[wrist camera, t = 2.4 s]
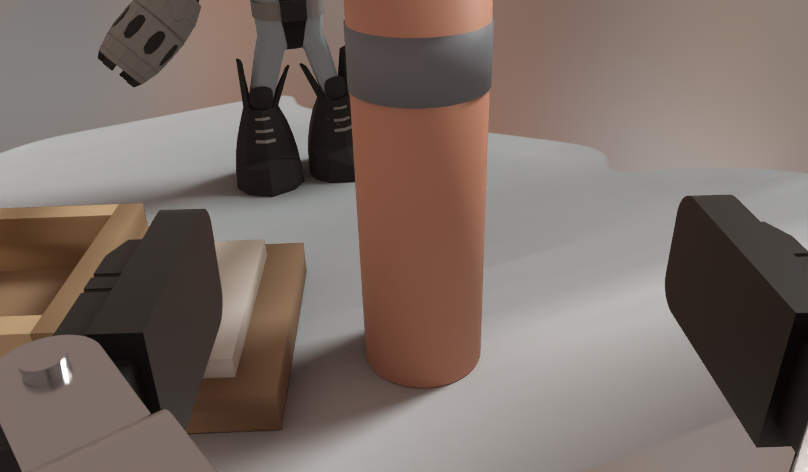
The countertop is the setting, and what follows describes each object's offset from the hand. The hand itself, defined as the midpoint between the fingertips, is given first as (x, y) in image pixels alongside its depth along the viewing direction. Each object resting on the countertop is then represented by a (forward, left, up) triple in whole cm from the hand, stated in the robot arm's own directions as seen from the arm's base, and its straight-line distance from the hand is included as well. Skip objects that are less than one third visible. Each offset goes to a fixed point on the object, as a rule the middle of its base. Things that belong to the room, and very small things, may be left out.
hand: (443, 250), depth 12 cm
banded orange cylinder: (0, -11, -11) cm, 16 cm away
